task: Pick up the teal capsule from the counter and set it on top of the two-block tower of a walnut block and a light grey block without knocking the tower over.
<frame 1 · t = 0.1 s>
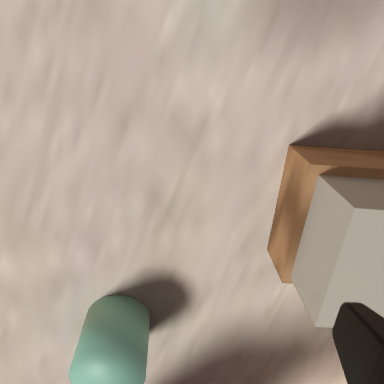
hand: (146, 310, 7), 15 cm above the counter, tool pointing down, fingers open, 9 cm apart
light grey block: (359, 233, 20), point 4 cm above the counter, touching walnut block
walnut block: (331, 202, 24), on the counter, touching light grey block
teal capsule: (118, 319, 27), on the counter
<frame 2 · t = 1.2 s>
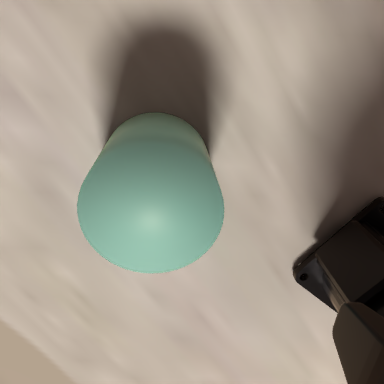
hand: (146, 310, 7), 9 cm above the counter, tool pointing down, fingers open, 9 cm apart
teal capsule: (156, 164, 16), on the counter
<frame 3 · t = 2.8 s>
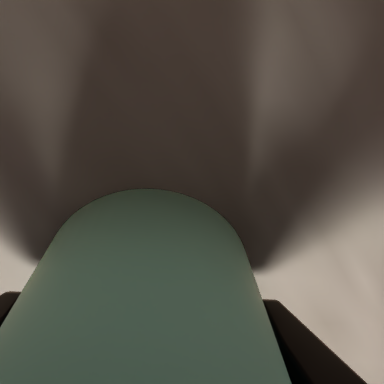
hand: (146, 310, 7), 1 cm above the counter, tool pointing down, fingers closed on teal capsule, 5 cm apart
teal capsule: (149, 279, 8), on the counter, touching gripper
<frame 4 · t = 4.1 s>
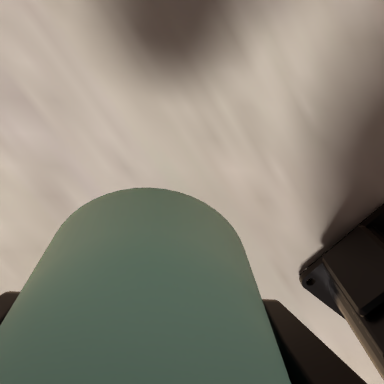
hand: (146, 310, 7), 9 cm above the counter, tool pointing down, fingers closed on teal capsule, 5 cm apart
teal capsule: (149, 278, 8), point 8 cm above the counter, touching gripper
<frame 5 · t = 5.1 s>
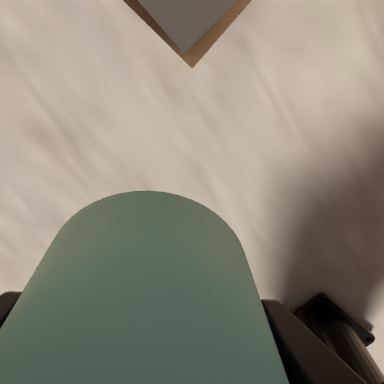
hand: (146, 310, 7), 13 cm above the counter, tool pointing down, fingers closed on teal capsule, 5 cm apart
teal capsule: (148, 281, 8), point 12 cm above the counter, touching gripper
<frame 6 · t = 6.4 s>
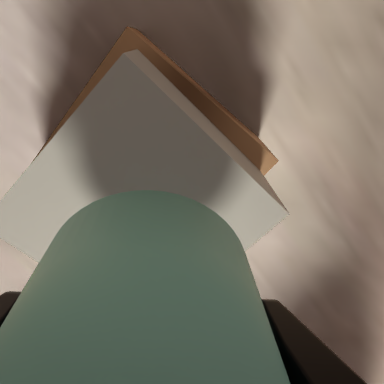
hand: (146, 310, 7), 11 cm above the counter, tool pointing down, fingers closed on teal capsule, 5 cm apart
light grey block: (146, 174, 14), point 4 cm above the counter, touching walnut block
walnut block: (153, 145, 18), on the counter, touching light grey block
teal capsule: (148, 281, 8), point 10 cm above the counter, touching gripper
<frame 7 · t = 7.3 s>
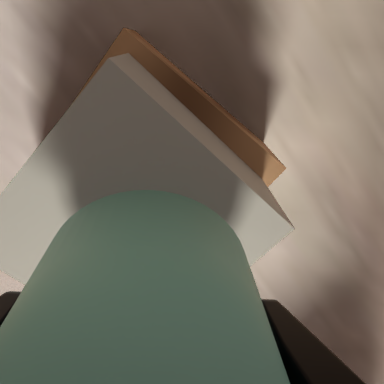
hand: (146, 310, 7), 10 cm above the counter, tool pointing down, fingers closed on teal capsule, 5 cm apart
light grey block: (141, 184, 14), point 4 cm above the counter, touching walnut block
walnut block: (153, 152, 17), on the counter, touching light grey block
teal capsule: (148, 280, 8), point 9 cm above the counter, touching gripper
when the fingers open (10 cm above the counter, at t = 7.3 s): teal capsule drops 2 cm, resting on light grey block.
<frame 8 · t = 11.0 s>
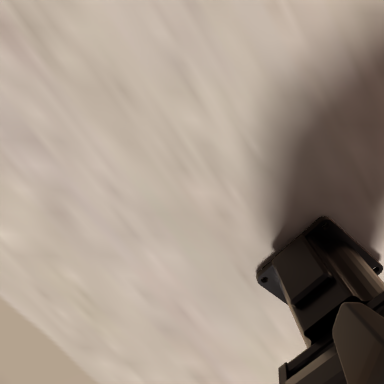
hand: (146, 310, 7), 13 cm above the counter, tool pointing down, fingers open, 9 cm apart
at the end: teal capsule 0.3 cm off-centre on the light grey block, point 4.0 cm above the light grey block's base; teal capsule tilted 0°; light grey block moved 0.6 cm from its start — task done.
